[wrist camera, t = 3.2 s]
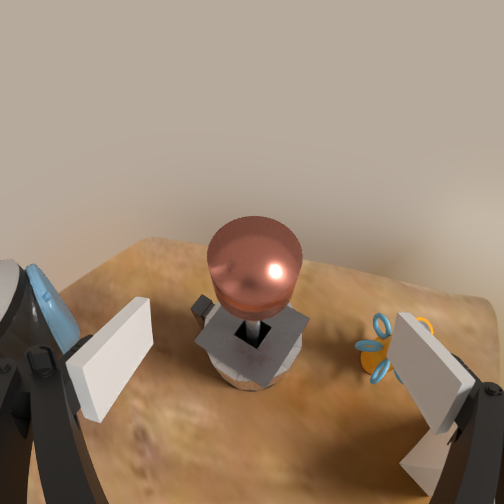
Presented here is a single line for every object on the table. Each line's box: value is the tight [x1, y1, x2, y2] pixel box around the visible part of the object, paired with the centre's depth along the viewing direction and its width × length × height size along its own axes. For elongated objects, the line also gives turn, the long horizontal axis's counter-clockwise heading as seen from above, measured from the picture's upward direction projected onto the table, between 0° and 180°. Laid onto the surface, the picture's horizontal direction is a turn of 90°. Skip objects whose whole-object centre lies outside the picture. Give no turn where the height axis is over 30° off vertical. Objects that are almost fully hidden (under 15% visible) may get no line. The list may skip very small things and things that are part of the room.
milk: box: [399, 421, 495, 504], centre depth 21 cm, size 12×12×26 cm
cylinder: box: [355, 313, 434, 384], centre depth 36 cm, size 12×10×15 cm
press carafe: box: [191, 295, 310, 392], centre depth 37 cm, size 14×11×15 cm
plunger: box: [207, 216, 302, 348], centre depth 26 cm, size 6×6×22 cm
